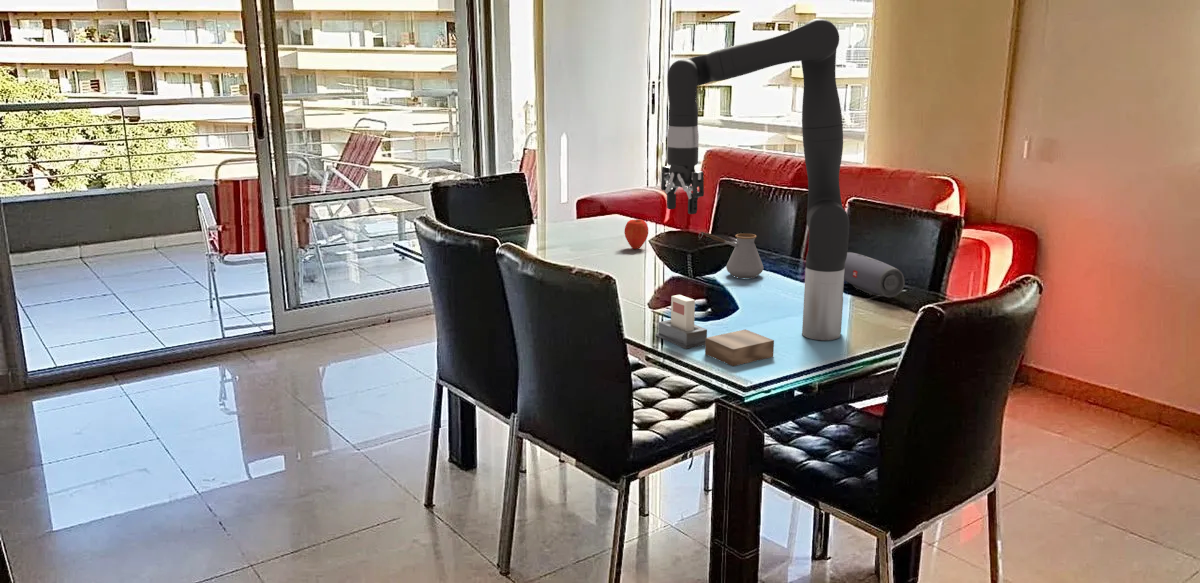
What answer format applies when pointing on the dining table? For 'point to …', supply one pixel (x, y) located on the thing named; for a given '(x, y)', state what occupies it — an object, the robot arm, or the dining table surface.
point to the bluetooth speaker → (873, 275)
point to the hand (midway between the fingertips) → (681, 211)
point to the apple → (636, 233)
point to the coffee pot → (742, 256)
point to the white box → (682, 312)
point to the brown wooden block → (739, 347)
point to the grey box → (682, 335)
